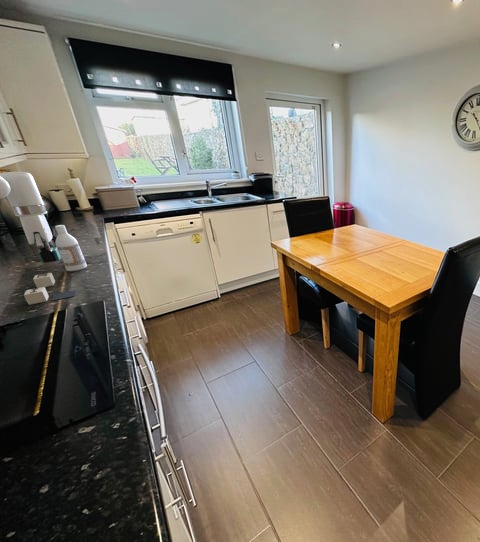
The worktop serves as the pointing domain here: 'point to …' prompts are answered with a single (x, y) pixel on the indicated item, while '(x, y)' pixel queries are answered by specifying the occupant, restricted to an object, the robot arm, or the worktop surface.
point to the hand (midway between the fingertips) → (51, 259)
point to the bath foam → (69, 250)
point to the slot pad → (63, 295)
